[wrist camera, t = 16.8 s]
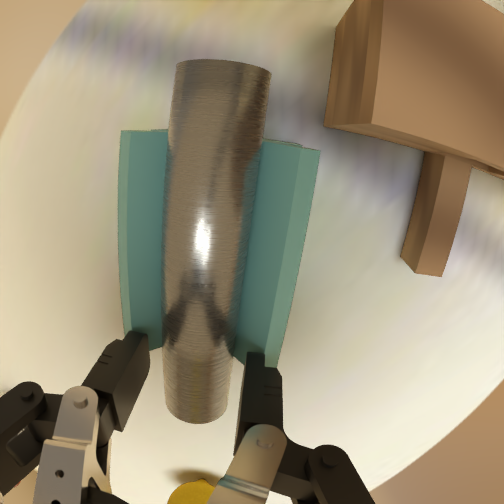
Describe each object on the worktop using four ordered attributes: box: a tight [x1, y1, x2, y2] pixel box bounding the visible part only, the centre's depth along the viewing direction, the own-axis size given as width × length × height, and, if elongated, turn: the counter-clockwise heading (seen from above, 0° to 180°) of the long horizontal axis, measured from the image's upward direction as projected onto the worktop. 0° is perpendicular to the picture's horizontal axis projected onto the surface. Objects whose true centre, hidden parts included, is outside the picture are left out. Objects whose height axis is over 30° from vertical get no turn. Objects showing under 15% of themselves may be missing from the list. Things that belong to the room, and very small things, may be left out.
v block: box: [118, 129, 320, 368], centre depth 13 cm, size 9×7×5 cm
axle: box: [161, 59, 271, 424], centre depth 11 cm, size 14×3×3 cm, turn 173°
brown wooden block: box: [324, 0, 504, 277], centre depth 10 cm, size 10×12×7 cm
